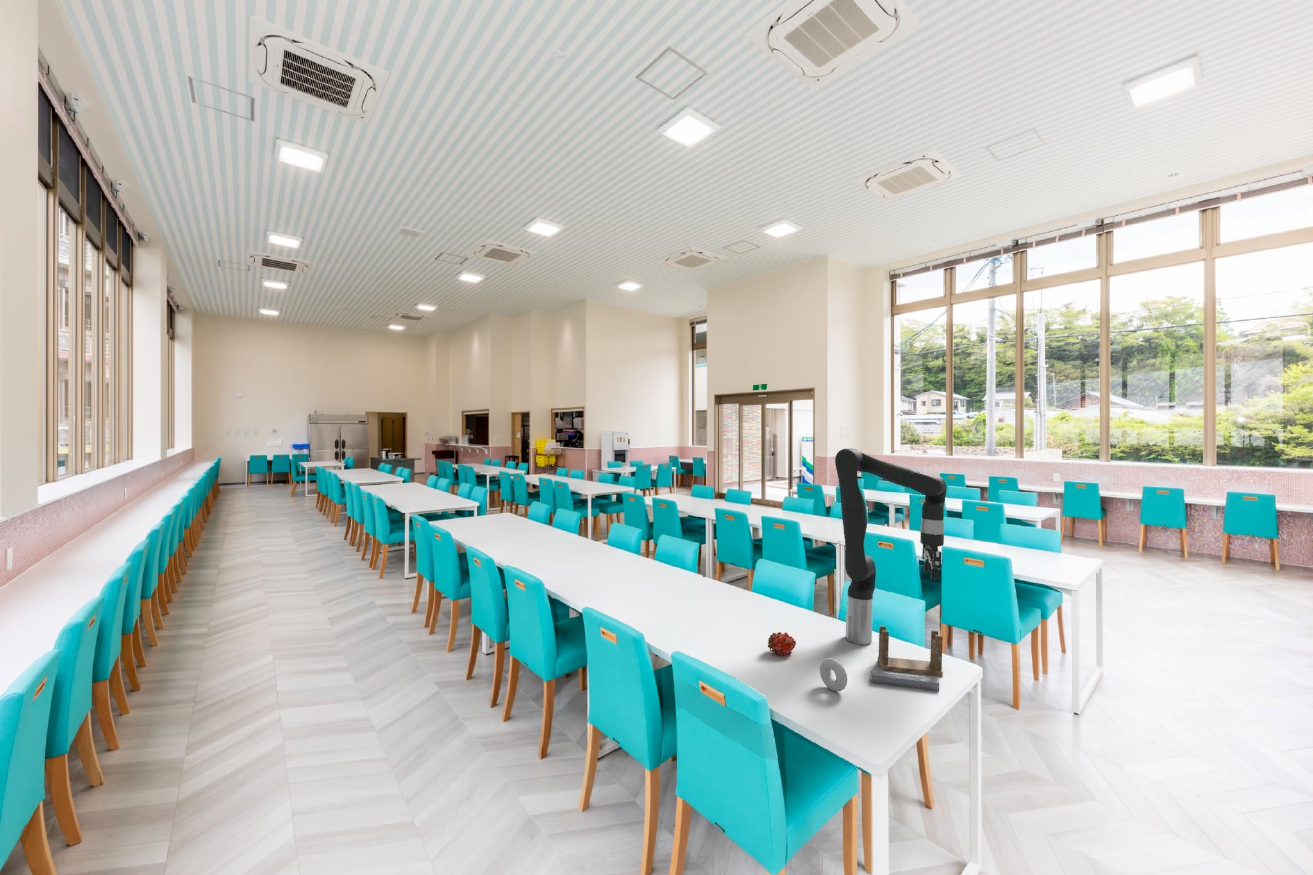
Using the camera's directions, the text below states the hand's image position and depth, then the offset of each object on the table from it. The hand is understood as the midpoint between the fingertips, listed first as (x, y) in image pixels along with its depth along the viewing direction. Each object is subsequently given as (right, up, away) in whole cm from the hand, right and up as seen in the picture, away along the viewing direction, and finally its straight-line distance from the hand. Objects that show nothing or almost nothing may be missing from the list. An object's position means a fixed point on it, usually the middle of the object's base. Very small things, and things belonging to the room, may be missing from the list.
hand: (931, 576), depth 193 cm
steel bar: (-19, -31, -20) cm, 41 cm away
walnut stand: (-11, -30, -8) cm, 33 cm away
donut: (-43, -30, -24) cm, 58 cm away
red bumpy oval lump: (-53, -29, +3) cm, 61 cm away
